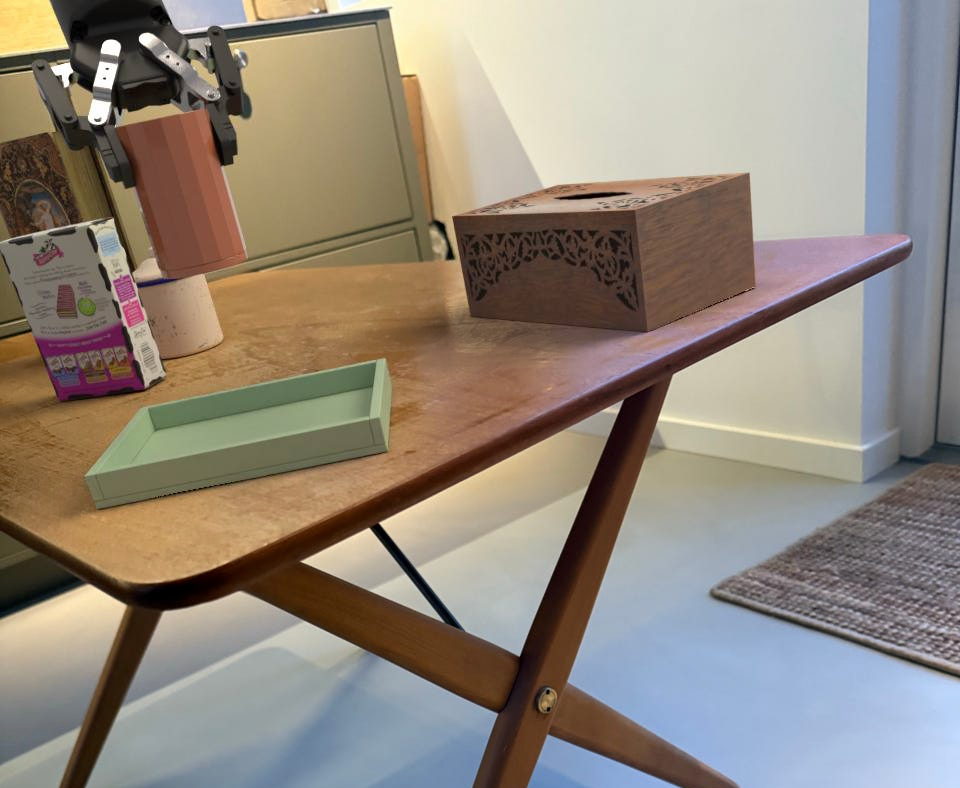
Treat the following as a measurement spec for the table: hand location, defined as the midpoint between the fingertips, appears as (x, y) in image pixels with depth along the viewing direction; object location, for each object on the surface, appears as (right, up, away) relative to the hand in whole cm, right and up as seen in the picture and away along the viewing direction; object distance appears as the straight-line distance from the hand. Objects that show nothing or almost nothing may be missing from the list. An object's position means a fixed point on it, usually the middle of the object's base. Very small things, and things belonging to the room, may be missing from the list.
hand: (178, 167), depth 71 cm
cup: (+1, -5, +5) cm, 7 cm away
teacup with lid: (-15, +1, +51) cm, 53 cm away
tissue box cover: (+33, +1, +31) cm, 46 cm away
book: (-27, +4, +61) cm, 67 cm away
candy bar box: (-18, -6, +39) cm, 43 cm away
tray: (+3, -17, +11) cm, 20 cm away
